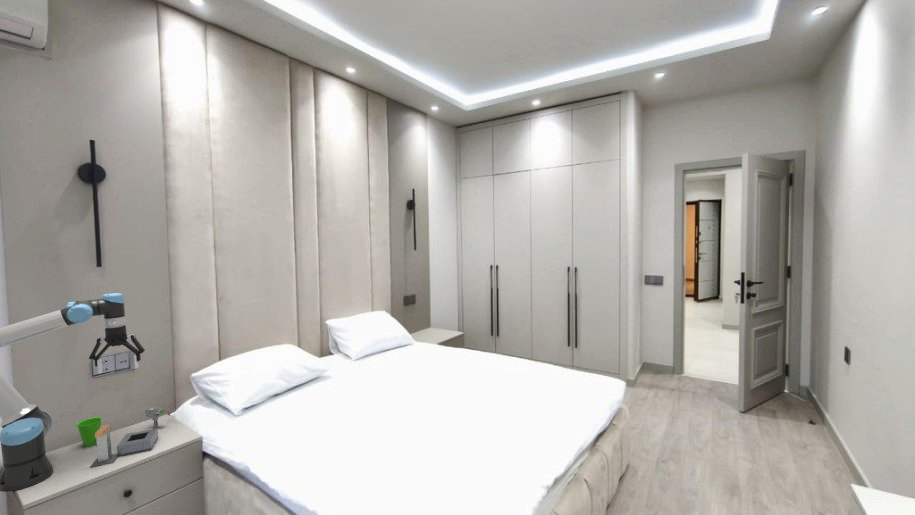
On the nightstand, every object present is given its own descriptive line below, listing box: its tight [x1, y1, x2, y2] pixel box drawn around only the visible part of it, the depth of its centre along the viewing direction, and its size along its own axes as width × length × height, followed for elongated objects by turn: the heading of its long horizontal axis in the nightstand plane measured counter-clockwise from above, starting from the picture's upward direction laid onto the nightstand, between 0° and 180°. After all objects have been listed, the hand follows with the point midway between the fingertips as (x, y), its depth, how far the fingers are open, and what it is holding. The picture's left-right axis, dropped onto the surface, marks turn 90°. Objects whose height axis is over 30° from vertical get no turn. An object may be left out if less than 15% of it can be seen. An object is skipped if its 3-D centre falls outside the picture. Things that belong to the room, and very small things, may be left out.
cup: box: [76, 416, 103, 447], centre depth 187 cm, size 9×9×11 cm
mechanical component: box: [144, 406, 165, 429], centre depth 202 cm, size 3×10×10 cm, turn 78°
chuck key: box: [95, 423, 112, 463], centre depth 172 cm, size 4×8×14 cm, turn 24°
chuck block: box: [116, 427, 159, 458], centre depth 183 cm, size 12×12×5 cm
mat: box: [89, 453, 119, 469], centre depth 173 cm, size 8×8×1 cm
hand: (119, 370), depth 187 cm, fingers open, 13 cm apart
